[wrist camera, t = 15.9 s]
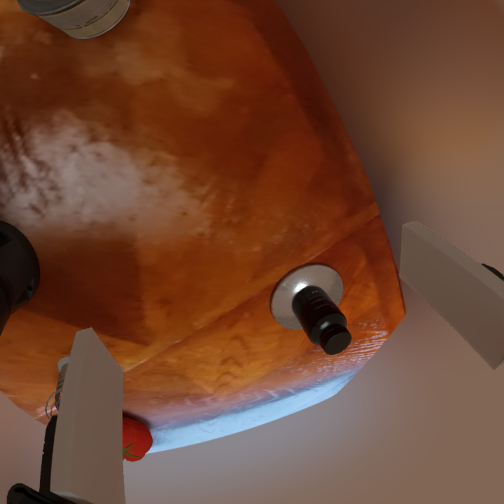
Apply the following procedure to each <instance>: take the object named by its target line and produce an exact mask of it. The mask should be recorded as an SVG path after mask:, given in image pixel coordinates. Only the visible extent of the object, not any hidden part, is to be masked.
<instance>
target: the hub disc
mask: <svg viewBox="0 0 504 504" xmlns="http://www.w3.org/2000/svg"><path fill="white" fill-rule="evenodd" d="M309 286H318V287H320V288H322V289H323V290H324V291H325V292H326V293H327V294H328V296H329V297H330V298H331V299H332V301H333V302H334V303H335V304H336V306H338V304H339V302H340V300H341V297H342V293H343V283H342V280H341V278H340V276H339V275H338V273H337V272H336V271H335V270H334V269H333V268H332V267H330V266H328V265H326V264H323V263H308V264H304V265H301V266H299V267H296V268H295V269H293V270H291V271H290V272H288V273H287V274H286V275H284V276H283V277H282V278H281V279H280V281H279V282H278V283H277V284H276V286H275V288H274V290H273V292H272V294H271V298H270V309H271V312H272V314H273V316H274V318H275V320H276V321H277V322H278V323H279V324H280V325H282V326H283V327H286V328H289V329H303V328H302V326H301V325H300V323H299V321H298V320H297V318H296V316H295V315H294V313H293V311H292V301H293V299H294V297H295V295H296V294H297V293H298V292H299V291H300V290H302V289H304V288H306V287H309Z"/></svg>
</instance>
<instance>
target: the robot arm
mask: <svg viewBox="0 0 504 504" xmlns="http://www.w3.org/2000/svg"><path fill="white" fill-rule="evenodd" d="M39 275H40V273H39V264H38V260H37V257H36V255H35V252H34V250H33V248H32V246H31V245H30V243H29V242H28V240H27V239H26V238H25V237H24V235H23V234H22V233H21V232H20V231H18V230H17V229H16V228H15V227H13V226H11V225H10V224H8V223H5V222H2V221H0V335H1V333H2V331H3V329H4V327H5V325H6V322H7V320H8V318H9V317H10V315H11V314H13V313H14V312H15V311H17V310H18V309H19V308H21V307H22V306H24V305H25V304H26V303H27V302H28V301H29V300H30V299H31V298H32V296H33V294H34V292H35V290H36V288H37V286H38V283H39ZM399 277H400V278H401V279H402V280H403V281H404V282H405V283H407V284H408V285H409V286H410V287H411V288H412V289H413V290H414V291H415V292H416V293H417V294H419V295H420V296H421V297H422V298H423V299H424V300H425V301H426V302H427V303H428V304H430V306H431V307H432V308H433V309H434V310H436V312H438V313H439V314H440V315H441V316H442V317H443V318H444V319H445V320H446V321H447V322H448V323H449V324H450V325H451V326H452V327H453V328H454V329H455V330H456V331H457V332H458V333H459V334H460V335H461V336H462V337H463V338H464V339H465V340H466V341H467V342H468V343H469V344H470V345H471V346H472V348H473V349H474V350H475V351H476V352H477V353H478V354H479V355H480V356H481V357H482V358H483V359H484V360H485V361H486V362H487V364H488V365H489V366H490V367H491V368H492V369H493V370H494V371H495V370H496V369H497V368H499V367H500V366H501V365H502V364H503V363H504V276H503V274H501V273H500V272H499V271H497V270H496V269H495V268H493V267H490V266H487V265H485V264H480V263H479V262H477V261H476V260H474V259H473V258H472V257H470V256H469V255H467V254H466V253H465V252H463V251H462V250H460V249H459V248H457V247H456V246H454V245H453V244H451V243H450V242H448V241H447V240H445V239H444V238H442V237H441V236H439V235H438V234H436V233H435V232H433V231H432V230H430V229H428V228H427V227H425V226H424V225H422V224H421V223H419V222H417V221H415V220H414V221H412V222H409V223H406V224H404V225H403V226H402V248H401V262H400V274H399ZM123 382H124V371H123V370H122V368H121V367H120V366H119V365H118V363H117V362H116V361H115V359H114V358H113V357H112V355H111V354H110V353H109V351H108V350H107V349H106V347H105V346H104V344H103V343H102V342H101V340H100V339H99V337H98V336H97V335H96V333H95V332H94V330H93V329H92V327H91V328H88V329H84V330H81V331H77V332H76V335H75V339H74V342H73V346H72V350H71V354H70V358H69V362H68V366H67V371H66V375H65V380H64V385H63V390H62V395H61V400H60V406H59V411H58V415H57V416H52V417H51V419H50V421H49V423H48V426H47V428H46V433H45V440H44V441H45V444H44V448H43V452H44V454H43V455H42V464H41V476H40V489H39V492H37V491H35V490H33V489H32V488H30V487H28V486H26V485H24V484H22V483H17V484H15V485H13V486H12V487H11V489H10V490H9V492H8V495H7V504H126V503H125V491H124V476H123V450H122V409H123Z"/></svg>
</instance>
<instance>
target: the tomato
mask: <svg viewBox="0 0 504 504" xmlns="http://www.w3.org/2000/svg"><path fill="white" fill-rule="evenodd" d="M152 443H153V439H152V436H151V433H150V431H149V430H148V429H147V428H146V427H145V426H144V425H143V424H141V423H140V422H137V421H134V420H132V419H129V418H127V417H122V450H123V460H124V459H126V460H127V461H131V462H133V461H137V460H140V459H142V458H143V457H144V455H145V453H147V452H148V451H149V450H150V448H151V446H152Z"/></svg>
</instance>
